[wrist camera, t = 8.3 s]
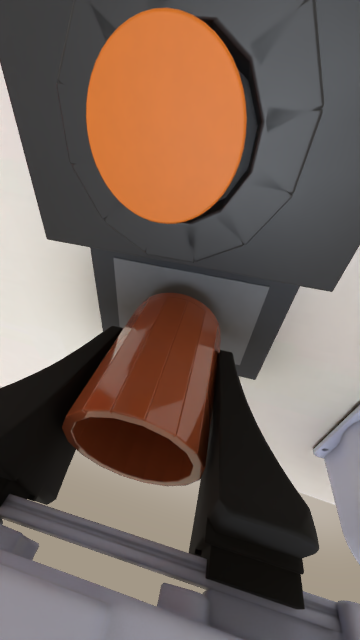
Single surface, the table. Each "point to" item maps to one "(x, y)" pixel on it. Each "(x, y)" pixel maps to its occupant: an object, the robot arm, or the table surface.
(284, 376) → the table surface
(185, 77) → the button
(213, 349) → the clay cup
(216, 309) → the tray
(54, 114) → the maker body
